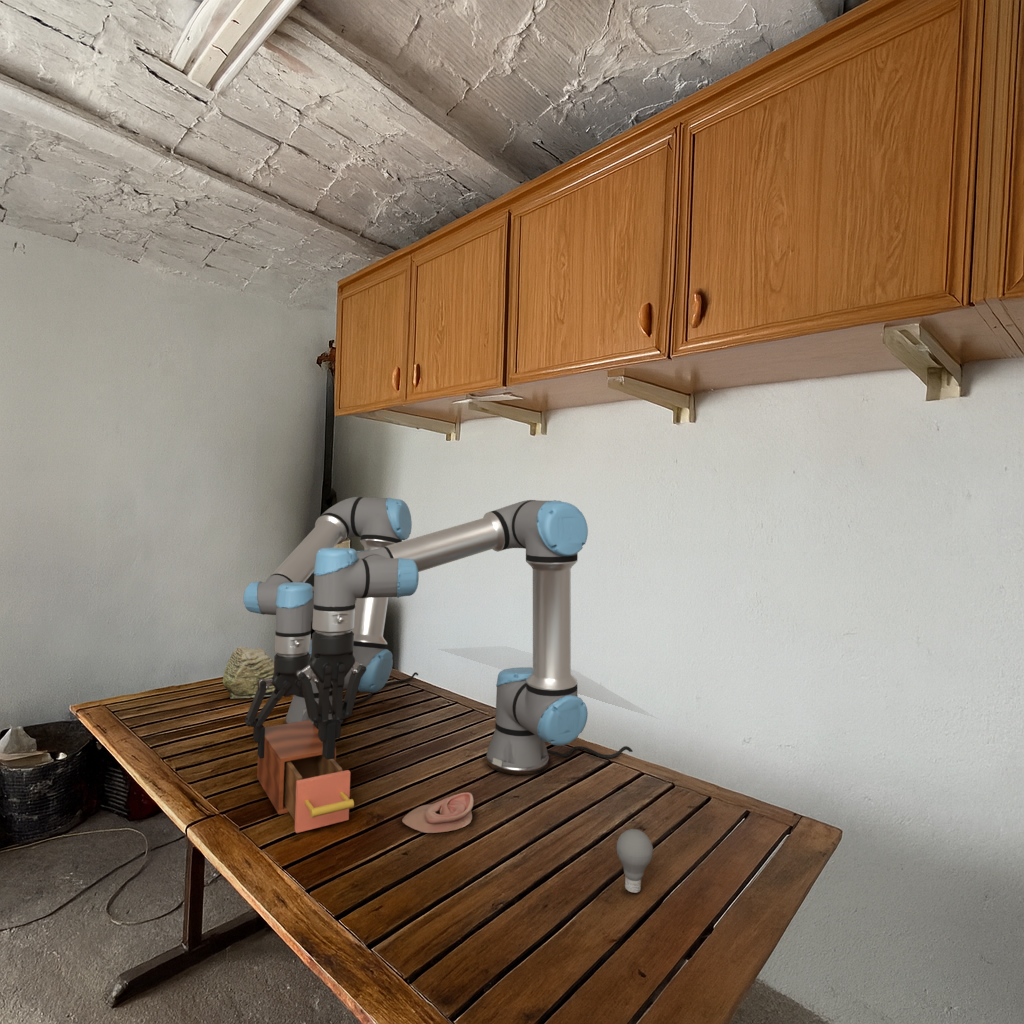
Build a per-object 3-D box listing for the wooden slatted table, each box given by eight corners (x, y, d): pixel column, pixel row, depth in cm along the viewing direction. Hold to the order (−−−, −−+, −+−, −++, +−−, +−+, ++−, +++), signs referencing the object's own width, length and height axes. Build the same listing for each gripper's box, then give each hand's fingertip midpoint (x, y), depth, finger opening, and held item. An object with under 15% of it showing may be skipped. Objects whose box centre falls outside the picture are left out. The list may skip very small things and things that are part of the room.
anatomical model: (396, 808, 122) (417, 782, 133) (395, 828, 122) (416, 801, 133) (463, 818, 119) (478, 791, 130) (462, 839, 119) (477, 810, 131)
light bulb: (610, 879, 108) (613, 822, 108) (644, 879, 109) (647, 822, 109) (619, 902, 102) (622, 840, 102) (655, 901, 103) (658, 840, 103)
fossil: (218, 695, 195) (220, 647, 195) (278, 685, 208) (279, 640, 207) (228, 703, 189) (230, 653, 188) (289, 692, 201) (290, 645, 201)
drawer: (359, 833, 118) (360, 783, 118) (304, 847, 113) (306, 795, 113) (320, 783, 138) (322, 740, 138) (272, 794, 132) (274, 749, 132)
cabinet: (334, 801, 132) (336, 748, 132) (278, 814, 126) (280, 758, 125) (307, 767, 148) (309, 720, 147) (257, 777, 141) (258, 728, 141)
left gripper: (238, 662, 131) (235, 767, 131) (350, 651, 144) (346, 746, 144) (231, 654, 137) (228, 755, 137) (339, 644, 150) (335, 736, 150)
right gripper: (303, 638, 111) (298, 771, 112) (374, 632, 118) (369, 757, 119) (292, 629, 117) (287, 755, 118) (359, 624, 125) (355, 743, 125)
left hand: (288, 751), depth 141 cm, fingers open, 11 cm apart
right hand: (328, 756), depth 118 cm, fingers closed
